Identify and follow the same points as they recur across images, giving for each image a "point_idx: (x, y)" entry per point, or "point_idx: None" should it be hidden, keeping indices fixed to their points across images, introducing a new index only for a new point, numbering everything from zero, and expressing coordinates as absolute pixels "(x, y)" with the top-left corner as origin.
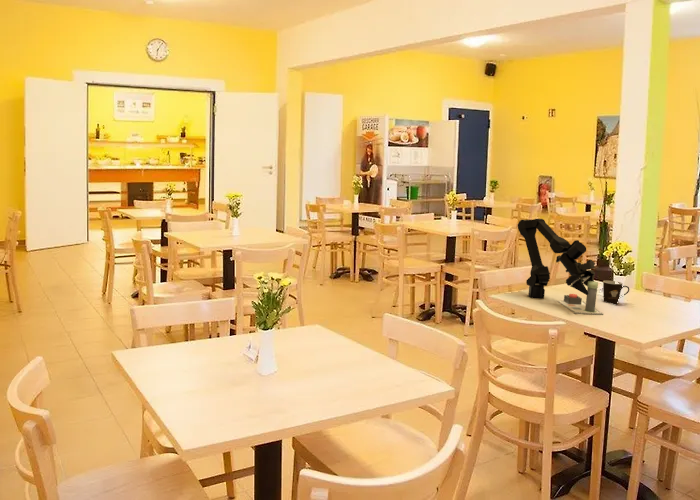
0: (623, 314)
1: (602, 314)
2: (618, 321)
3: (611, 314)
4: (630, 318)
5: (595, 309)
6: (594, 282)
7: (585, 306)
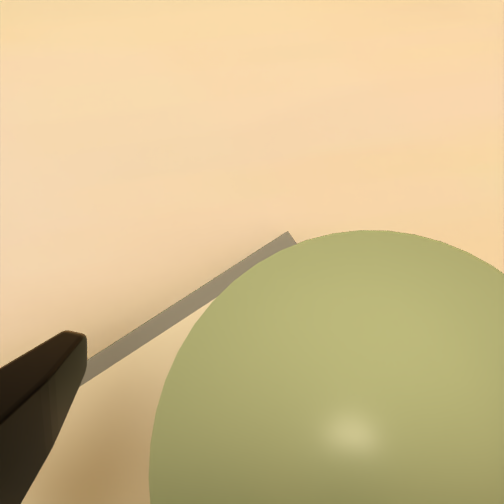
0: (110, 81)
1: (293, 241)
2: (443, 82)
3: (193, 173)
4: (241, 14)
5: (127, 345)
6: (431, 372)
7: (40, 490)
